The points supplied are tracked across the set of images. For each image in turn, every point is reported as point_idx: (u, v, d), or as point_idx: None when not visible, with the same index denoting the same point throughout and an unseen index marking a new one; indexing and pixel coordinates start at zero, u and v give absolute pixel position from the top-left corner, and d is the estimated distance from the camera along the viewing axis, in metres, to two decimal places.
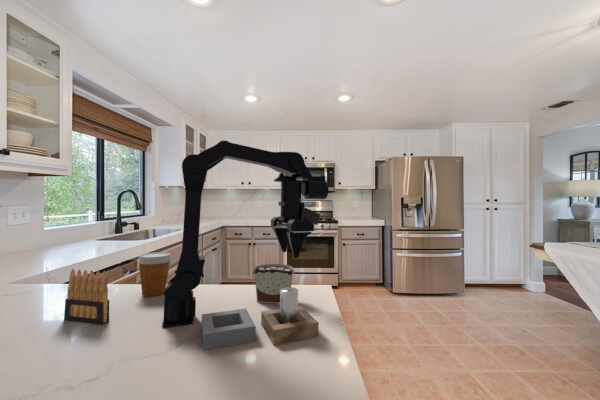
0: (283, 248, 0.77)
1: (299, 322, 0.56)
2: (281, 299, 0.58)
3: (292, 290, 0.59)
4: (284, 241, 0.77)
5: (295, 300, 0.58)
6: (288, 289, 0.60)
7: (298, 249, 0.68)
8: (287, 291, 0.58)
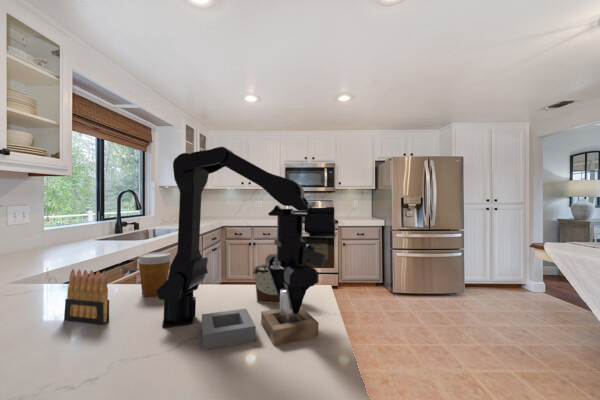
0: None
1: (299, 322, 0.56)
2: (281, 299, 0.58)
3: None
4: (281, 286, 0.64)
5: None
6: None
7: (298, 303, 0.54)
8: None
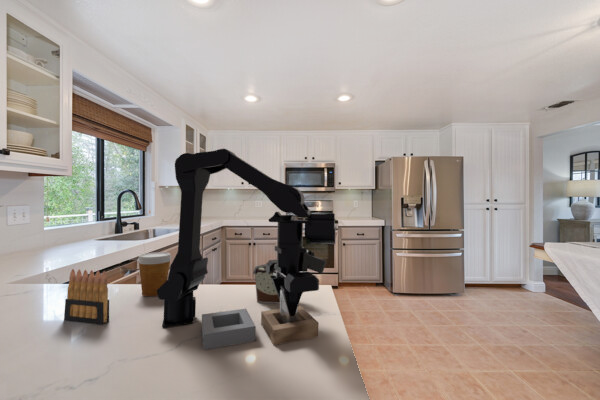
0: None
1: (299, 322, 0.56)
2: (281, 299, 0.58)
3: None
4: None
5: None
6: None
7: (294, 306, 0.56)
8: None
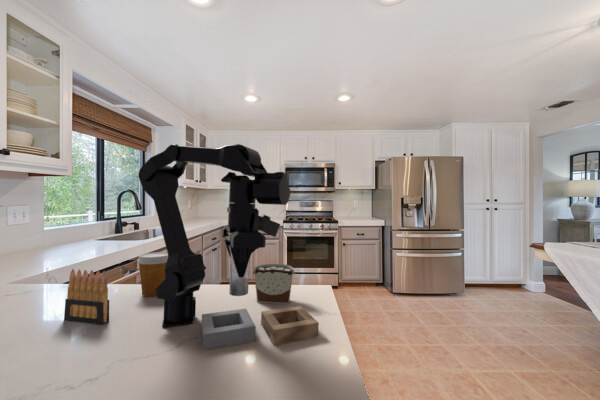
0: None
1: (299, 322, 0.56)
2: (231, 260, 0.57)
3: None
4: None
5: None
6: None
7: (243, 267, 0.55)
8: None
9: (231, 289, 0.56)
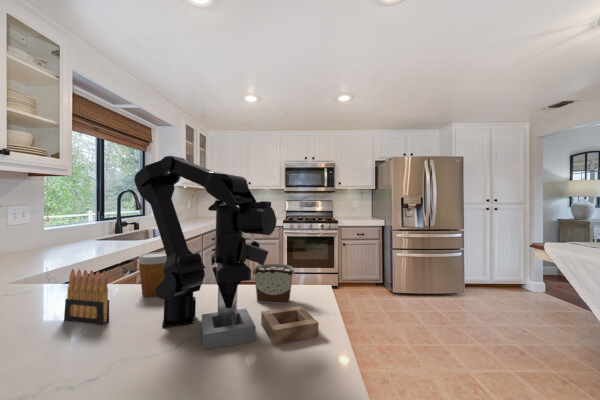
0: None
1: (299, 322, 0.56)
2: (218, 290, 0.56)
3: None
4: None
5: None
6: None
7: (231, 298, 0.54)
8: None
9: (219, 320, 0.55)
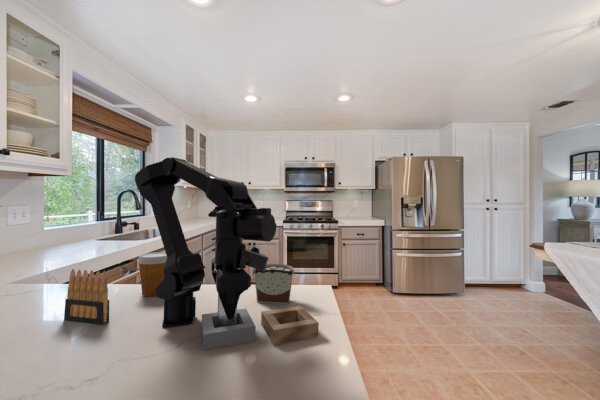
0: None
1: (299, 322, 0.56)
2: (218, 301, 0.56)
3: None
4: None
5: None
6: None
7: (232, 309, 0.52)
8: None
9: None
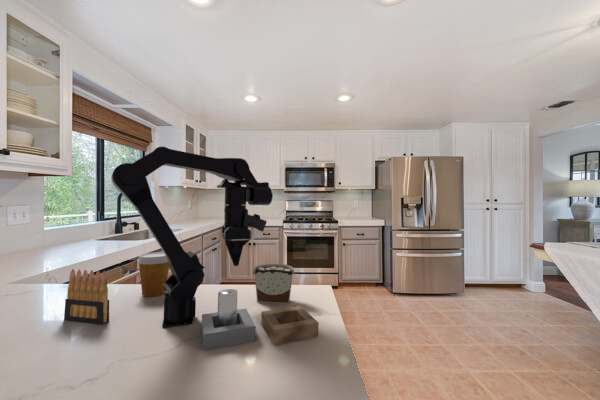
0: None
1: (299, 322, 0.56)
2: (218, 301, 0.56)
3: (231, 292, 0.57)
4: None
5: (233, 303, 0.56)
6: (227, 291, 0.57)
7: (237, 257, 0.67)
8: (225, 293, 0.56)
9: None
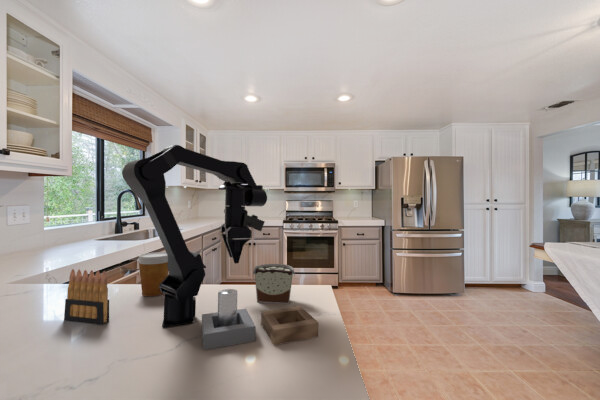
0: (230, 253, 0.80)
1: (299, 322, 0.56)
2: (218, 301, 0.56)
3: (231, 292, 0.57)
4: None
5: (233, 303, 0.56)
6: (227, 291, 0.57)
7: (238, 255, 0.71)
8: (225, 293, 0.56)
9: None
